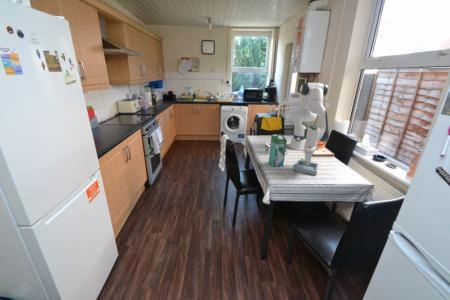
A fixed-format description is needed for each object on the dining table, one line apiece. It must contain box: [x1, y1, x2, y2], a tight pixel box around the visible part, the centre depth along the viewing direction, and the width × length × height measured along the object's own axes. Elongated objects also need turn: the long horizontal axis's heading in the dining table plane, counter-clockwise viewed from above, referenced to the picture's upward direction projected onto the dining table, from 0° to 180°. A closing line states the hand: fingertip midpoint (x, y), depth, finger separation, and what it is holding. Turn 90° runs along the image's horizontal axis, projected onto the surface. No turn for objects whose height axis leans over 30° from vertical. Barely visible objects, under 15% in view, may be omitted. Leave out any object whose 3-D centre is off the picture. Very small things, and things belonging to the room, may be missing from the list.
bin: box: [294, 159, 319, 176], centre depth 165 cm, size 16×16×4 cm
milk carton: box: [268, 133, 288, 168], centre depth 169 cm, size 9×9×25 cm
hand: (307, 163), depth 164 cm, fingers closed on cucumber chunk, 4 cm apart
